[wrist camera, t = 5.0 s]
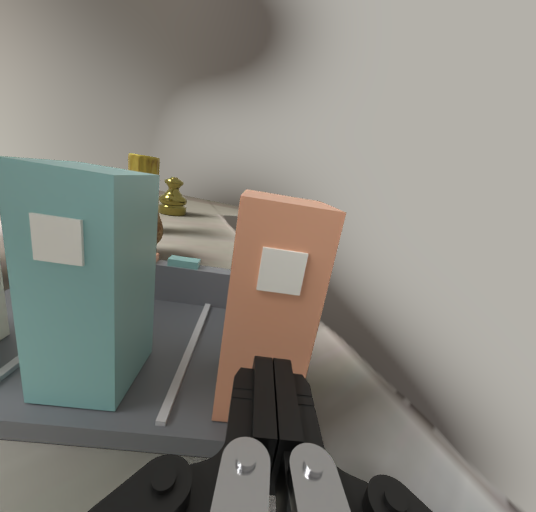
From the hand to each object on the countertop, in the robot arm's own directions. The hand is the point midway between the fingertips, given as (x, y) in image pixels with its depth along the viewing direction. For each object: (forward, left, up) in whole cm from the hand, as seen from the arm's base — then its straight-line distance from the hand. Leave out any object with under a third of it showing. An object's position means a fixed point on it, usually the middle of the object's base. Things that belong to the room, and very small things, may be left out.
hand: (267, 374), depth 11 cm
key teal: (-10, -2, -5) cm, 12 cm away
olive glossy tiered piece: (-59, +41, -7) cm, 72 cm away
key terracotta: (-3, +4, -5) cm, 7 cm away
